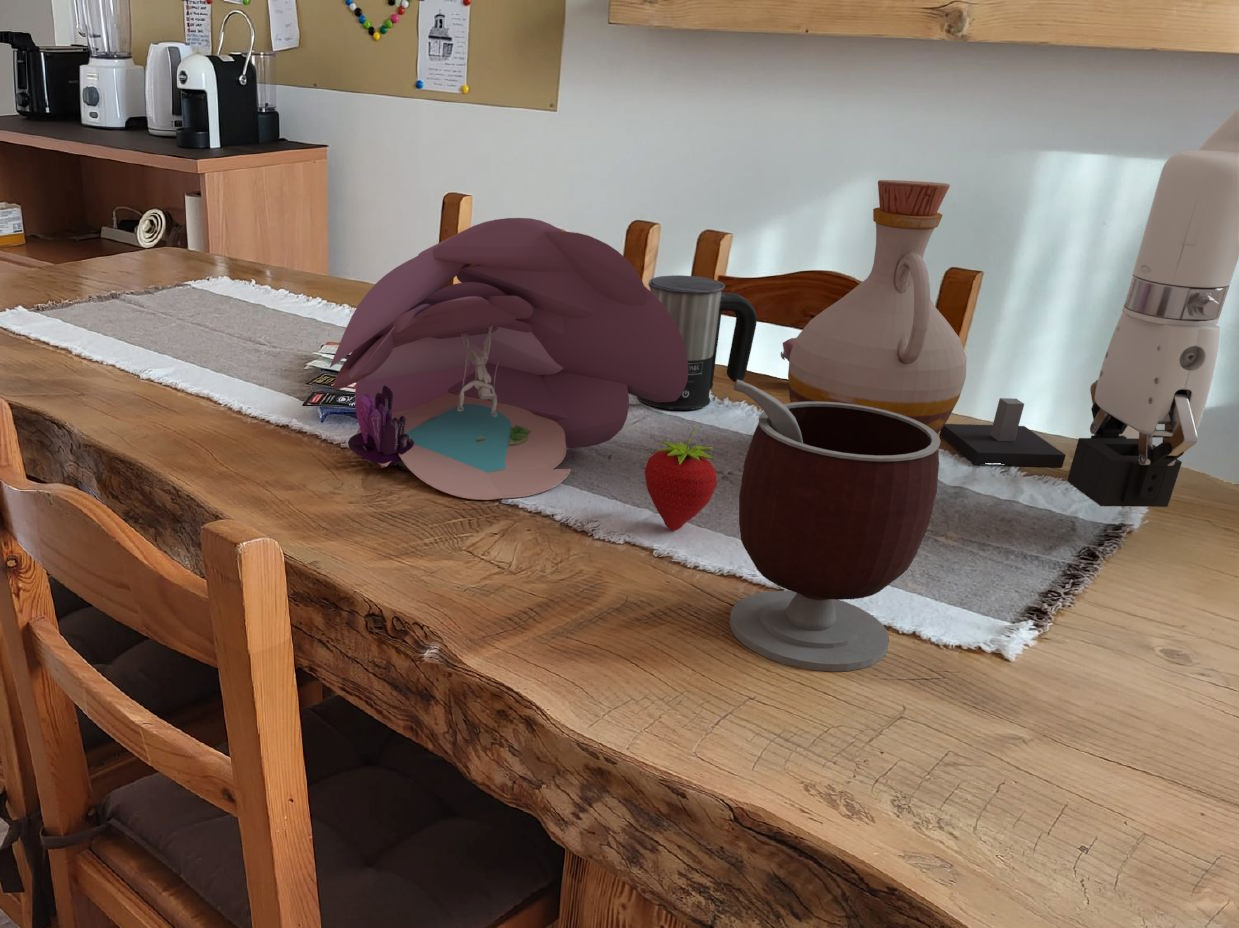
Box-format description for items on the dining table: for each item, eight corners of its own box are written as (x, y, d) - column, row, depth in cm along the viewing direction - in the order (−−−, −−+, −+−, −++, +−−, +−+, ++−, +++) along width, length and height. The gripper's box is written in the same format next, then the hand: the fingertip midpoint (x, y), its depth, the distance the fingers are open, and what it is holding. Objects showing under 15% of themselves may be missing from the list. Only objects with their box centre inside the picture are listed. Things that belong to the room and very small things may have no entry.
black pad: (1130, 481, 115) (1143, 438, 113) (1167, 507, 109) (1182, 461, 107) (1066, 481, 114) (1078, 437, 112) (1100, 506, 109) (1114, 461, 107)
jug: (971, 506, 119) (1051, 199, 106) (796, 498, 119) (853, 191, 106) (910, 442, 137) (972, 172, 123) (758, 435, 137) (802, 164, 123)
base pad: (1021, 437, 140) (1034, 389, 137) (1062, 467, 131) (1077, 416, 128) (939, 435, 139) (950, 386, 137) (975, 465, 130) (988, 413, 128)
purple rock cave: (388, 566, 113) (393, 293, 95) (289, 447, 128) (277, 192, 110) (674, 478, 127) (726, 226, 109) (554, 380, 142) (582, 145, 124)
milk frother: (661, 415, 142) (676, 292, 136) (594, 379, 155) (605, 265, 148) (755, 404, 148) (774, 285, 141) (683, 370, 161) (698, 260, 154)
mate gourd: (883, 603, 98) (936, 371, 89) (913, 686, 86) (978, 428, 77) (697, 583, 101) (730, 355, 92) (700, 662, 88) (739, 407, 79)
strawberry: (670, 510, 115) (683, 412, 111) (723, 537, 110) (739, 436, 105) (623, 520, 112) (635, 421, 108) (676, 549, 107) (690, 446, 102)
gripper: (1279, 325, 96) (1211, 525, 104) (1159, 280, 111) (1108, 457, 119) (1190, 324, 96) (1128, 525, 104) (1082, 279, 111) (1035, 456, 119)
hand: (1118, 487), depth 111 cm, fingers closed on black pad, 6 cm apart
